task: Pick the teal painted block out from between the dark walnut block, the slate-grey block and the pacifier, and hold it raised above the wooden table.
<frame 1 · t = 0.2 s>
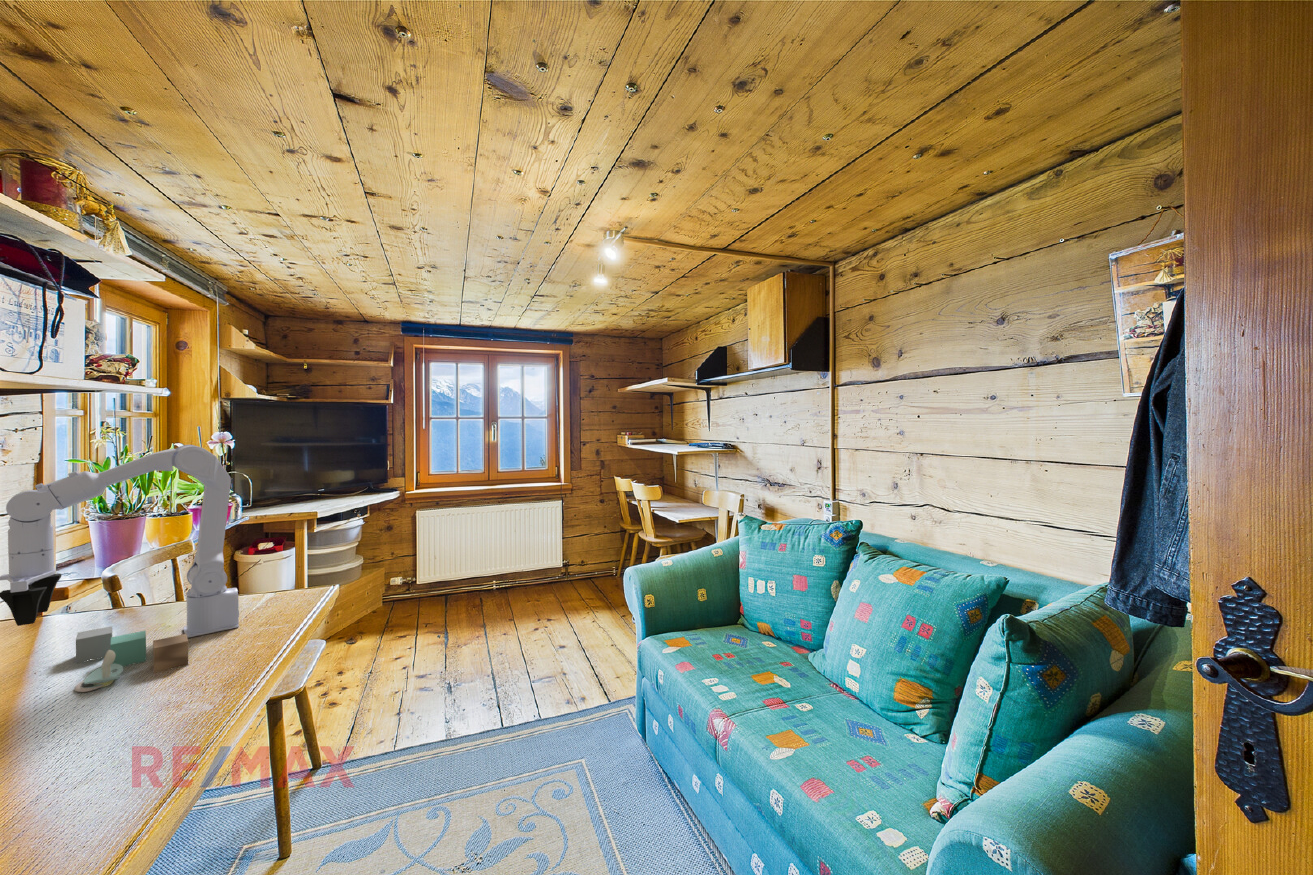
hand: (33, 618, 102), 10 cm above the table, tool pointing down, fingers open, 7 cm apart
pacifier: (98, 685, 96), on the table
walnut block: (170, 664, 104), on the table
teal block: (128, 661, 106), on the table
slate block: (94, 656, 108), on the table
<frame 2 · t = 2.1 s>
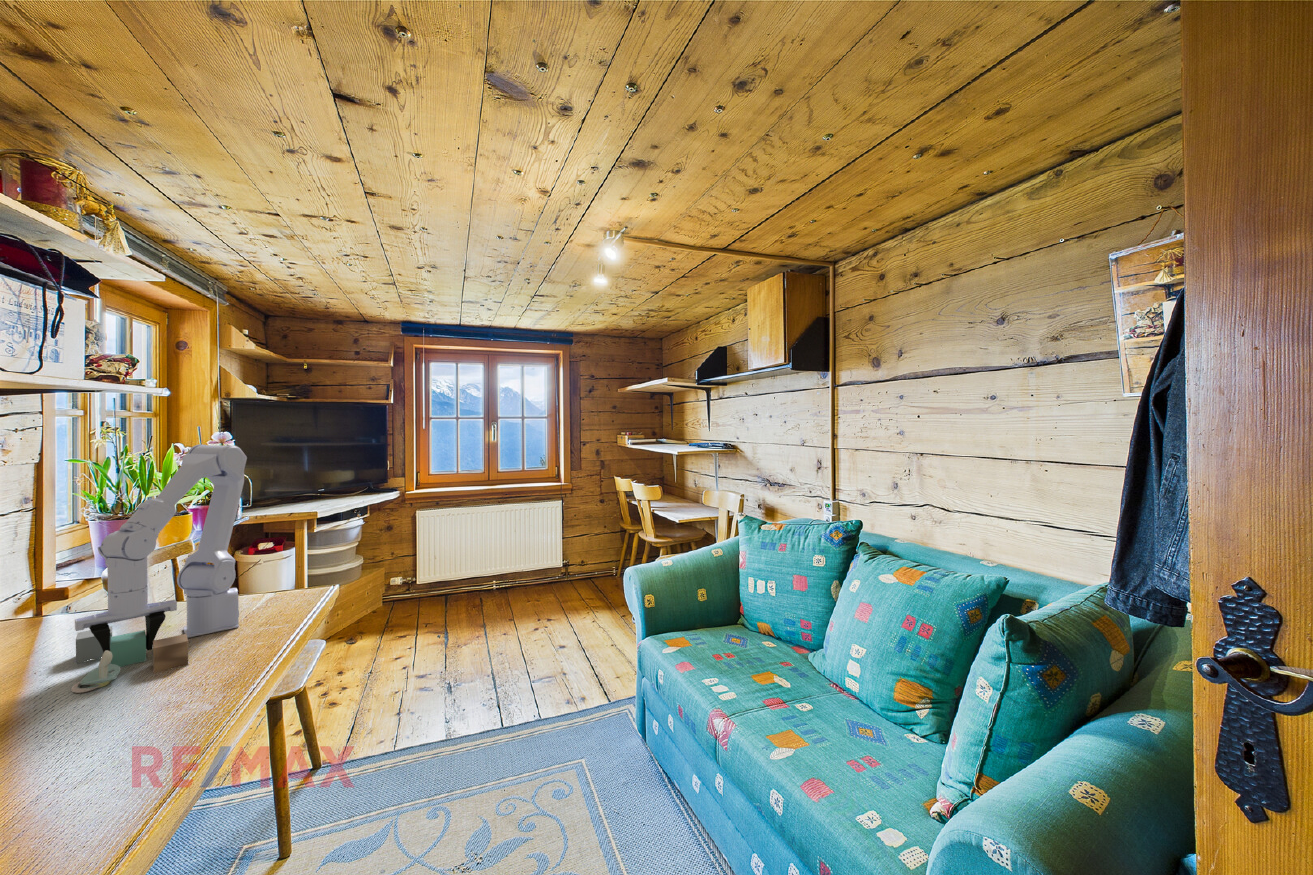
hand: (128, 653, 106), 1 cm above the table, tool pointing down, fingers closed on teal block, 5 cm apart
teal block: (128, 660, 106), on the table, touching gripper
everything else where it was.
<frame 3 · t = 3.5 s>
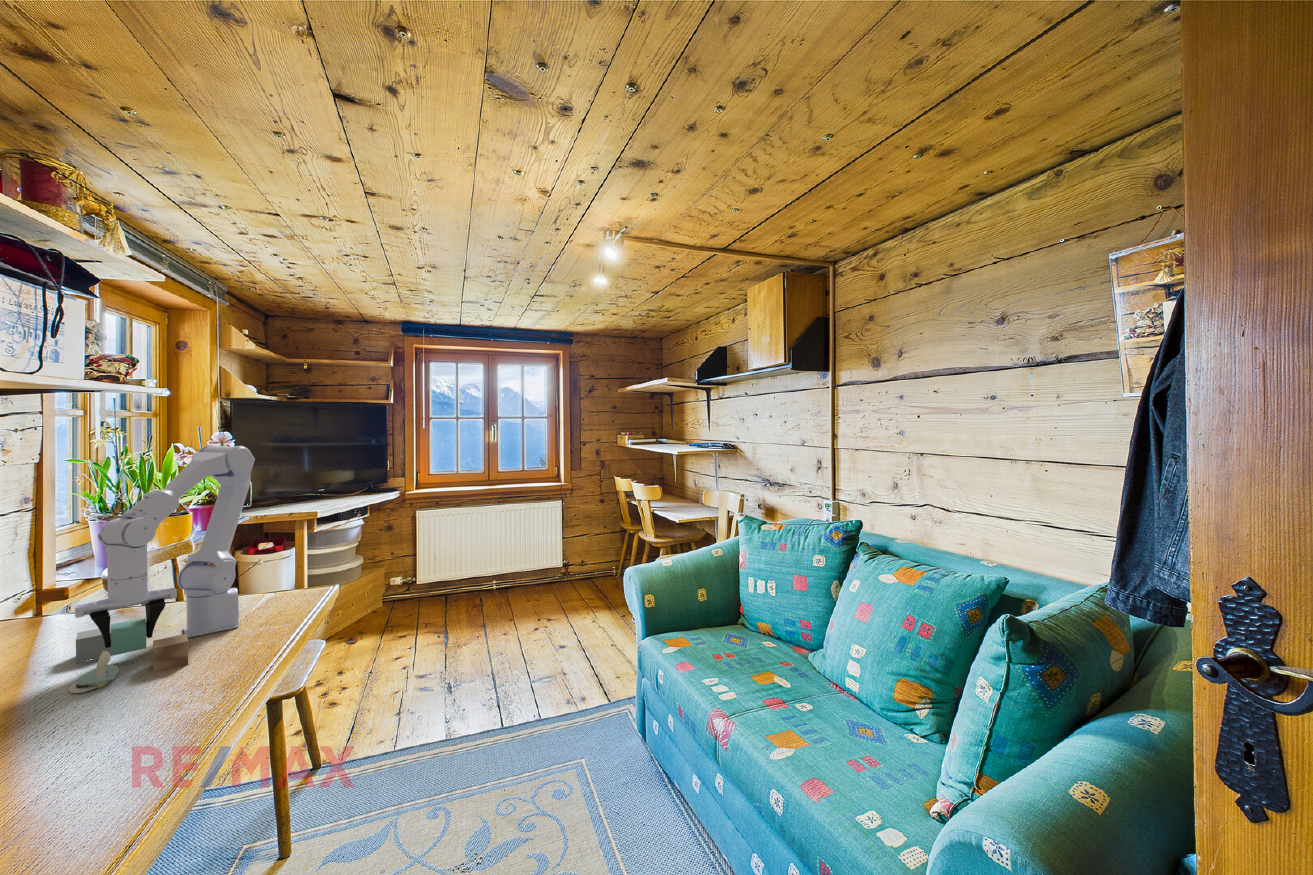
hand: (128, 641, 106), 4 cm above the table, tool pointing down, fingers closed on teal block, 5 cm apart
teal block: (128, 648, 106), point 3 cm above the table, touching gripper
everything else where it was.
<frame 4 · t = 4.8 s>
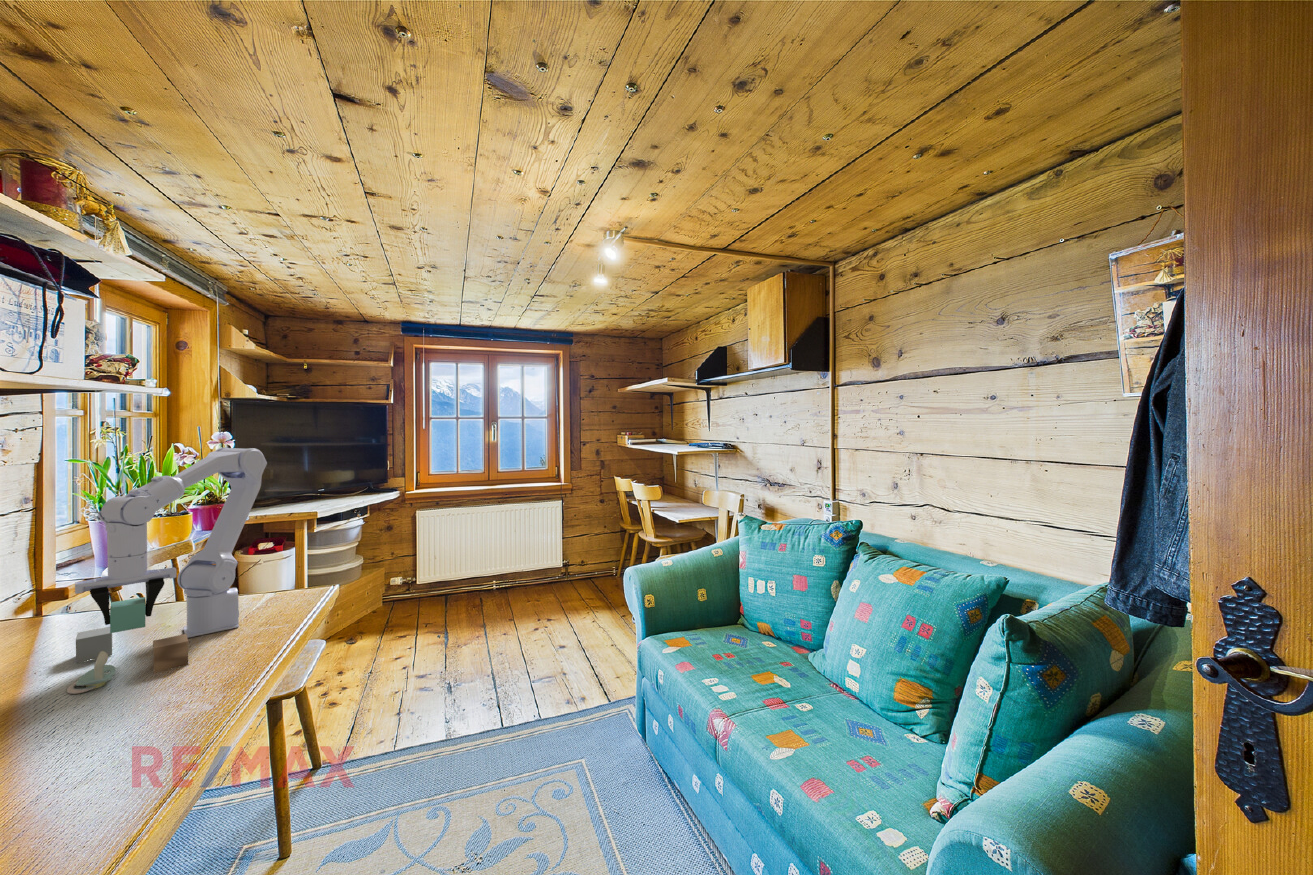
hand: (128, 619, 106), 8 cm above the table, tool pointing down, fingers closed on teal block, 5 cm apart
teal block: (128, 626, 106), point 7 cm above the table, touching gripper
everything else where it was.
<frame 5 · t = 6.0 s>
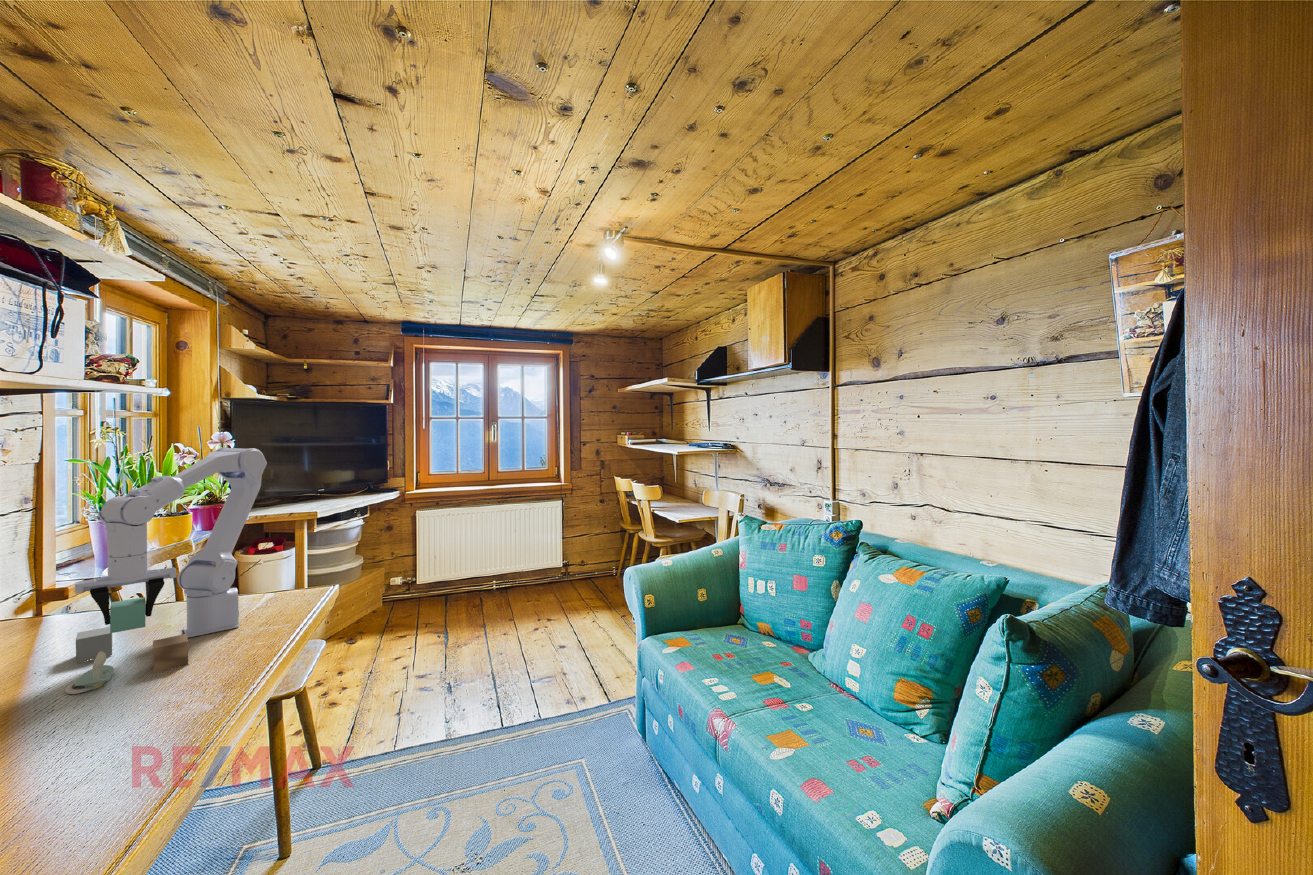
hand: (128, 619, 106), 8 cm above the table, tool pointing down, fingers closed on teal block, 5 cm apart
teal block: (128, 626, 106), point 7 cm above the table, touching gripper
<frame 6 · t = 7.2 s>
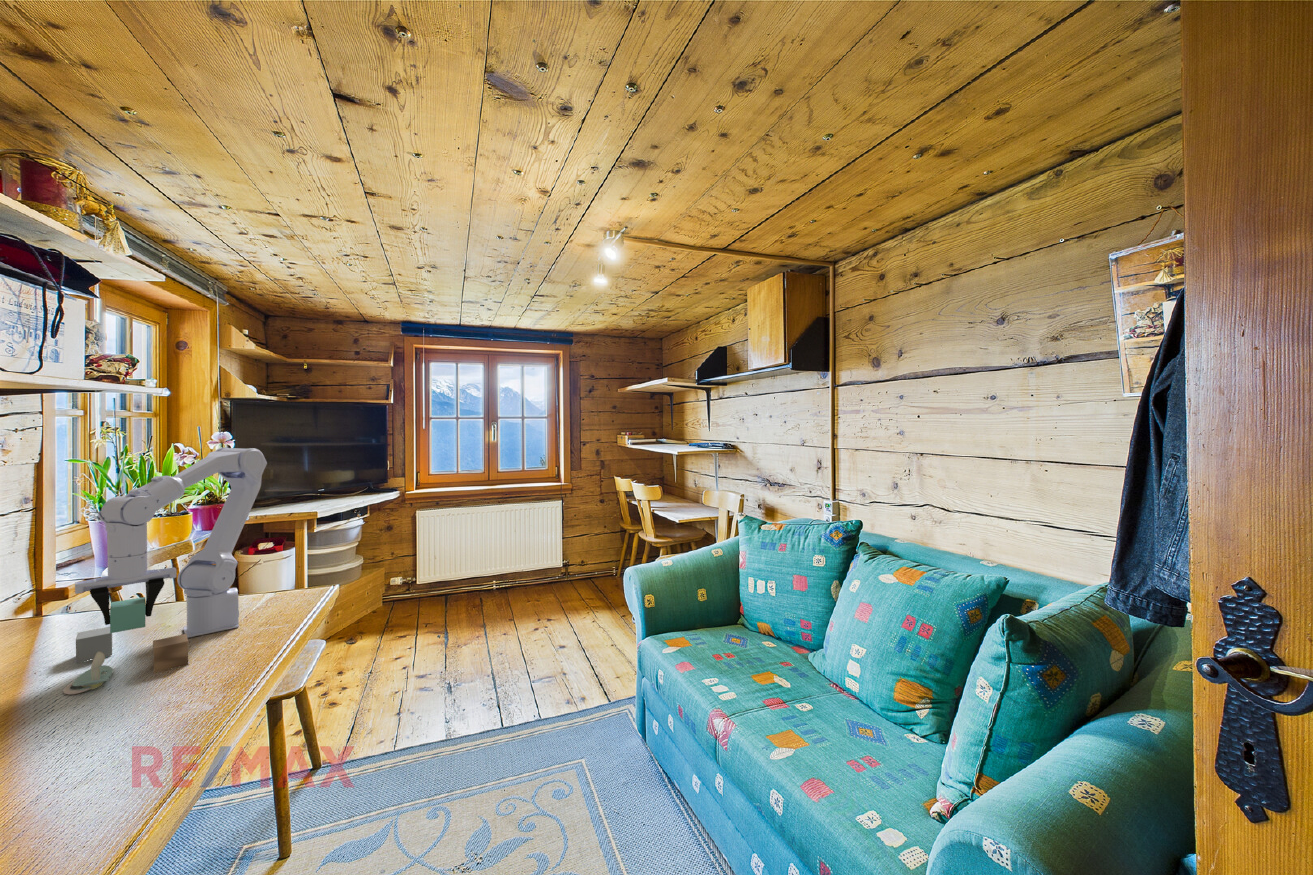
hand: (128, 619, 106), 8 cm above the table, tool pointing down, fingers closed on teal block, 5 cm apart
teal block: (128, 626, 106), point 7 cm above the table, touching gripper
at the end: teal block point 6.9 cm above the table; walnut block moved 0.1 cm from its start; slate block moved 0.1 cm from its start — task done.
